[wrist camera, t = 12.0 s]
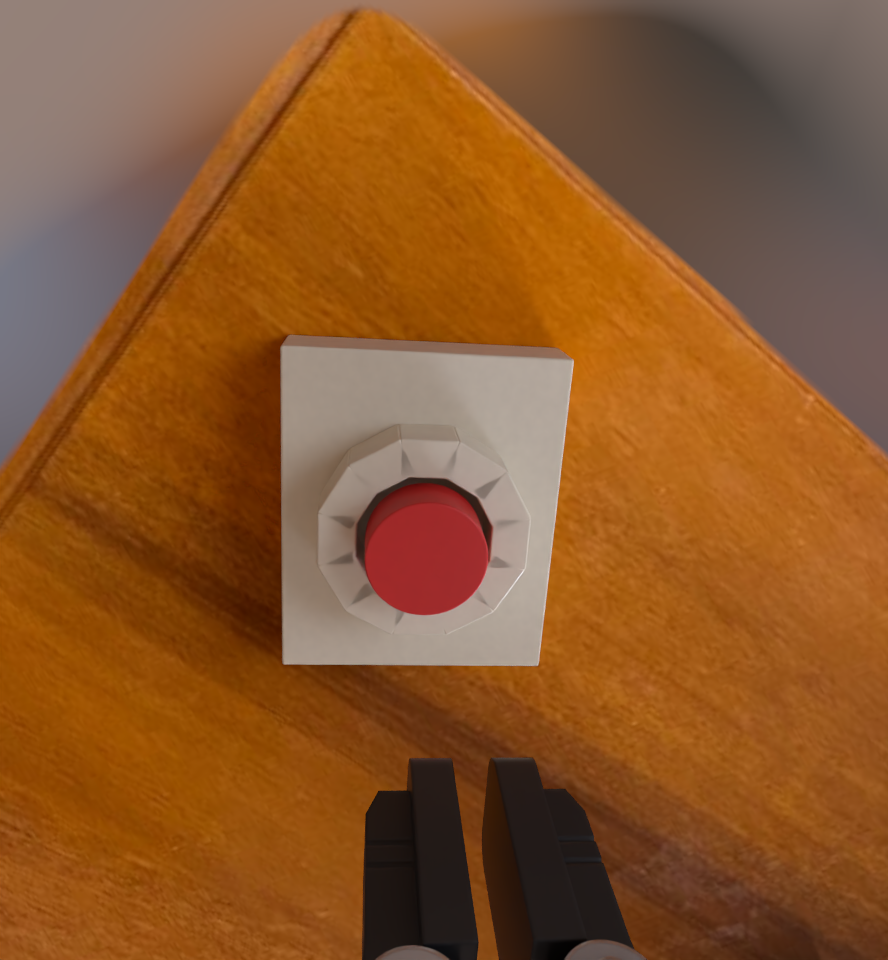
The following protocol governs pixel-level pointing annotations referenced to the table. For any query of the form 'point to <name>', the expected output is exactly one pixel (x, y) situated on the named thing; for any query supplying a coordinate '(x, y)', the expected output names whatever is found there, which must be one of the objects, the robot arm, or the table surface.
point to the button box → (409, 460)
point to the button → (425, 549)
